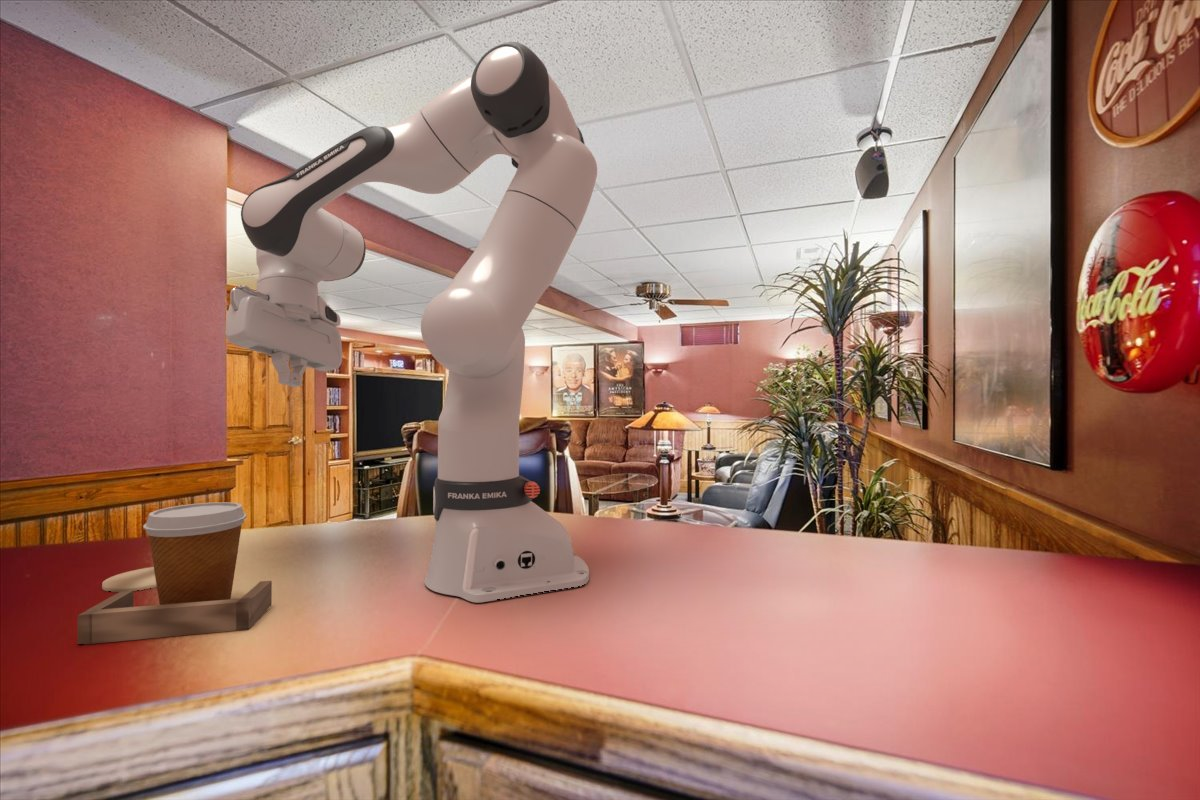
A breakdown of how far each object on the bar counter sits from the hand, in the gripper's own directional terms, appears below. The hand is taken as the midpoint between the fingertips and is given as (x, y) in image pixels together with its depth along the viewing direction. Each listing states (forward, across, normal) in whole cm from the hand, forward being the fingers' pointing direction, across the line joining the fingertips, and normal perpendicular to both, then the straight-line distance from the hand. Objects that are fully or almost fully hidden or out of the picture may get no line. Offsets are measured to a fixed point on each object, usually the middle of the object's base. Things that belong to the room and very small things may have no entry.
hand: (290, 384), depth 84 cm
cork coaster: (+27, -10, +15) cm, 32 cm away
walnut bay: (+32, -19, -3) cm, 37 cm away
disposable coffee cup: (+32, -17, -2) cm, 36 cm away
